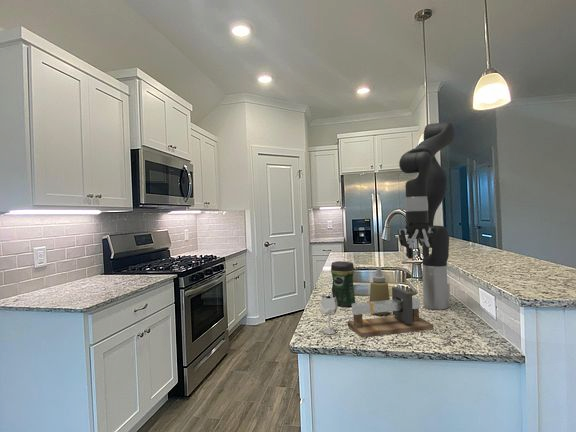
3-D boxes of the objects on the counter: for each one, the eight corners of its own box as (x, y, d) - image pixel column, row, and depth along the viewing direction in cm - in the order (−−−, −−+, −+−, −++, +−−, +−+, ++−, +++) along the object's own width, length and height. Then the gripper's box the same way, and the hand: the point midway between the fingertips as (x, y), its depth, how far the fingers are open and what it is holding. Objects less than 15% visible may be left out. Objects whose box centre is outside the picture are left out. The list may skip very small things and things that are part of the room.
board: (413, 318, 129) (413, 302, 129) (433, 329, 117) (433, 311, 117) (347, 325, 123) (347, 308, 123) (361, 337, 112) (360, 319, 112)
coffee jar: (358, 303, 150) (356, 261, 149) (349, 308, 143) (347, 263, 143) (338, 300, 156) (337, 259, 155) (329, 304, 149) (327, 262, 149)
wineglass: (334, 335, 114) (332, 299, 114) (318, 332, 117) (317, 297, 117) (340, 330, 119) (339, 295, 118) (325, 327, 122) (324, 293, 122)
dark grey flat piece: (397, 314, 126) (396, 286, 126) (412, 322, 116) (412, 293, 116) (392, 314, 126) (391, 287, 126) (407, 323, 116) (406, 293, 116)
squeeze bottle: (376, 308, 141) (375, 265, 141) (394, 312, 136) (393, 267, 135) (365, 313, 136) (364, 268, 135) (383, 318, 130) (382, 270, 129)
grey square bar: (414, 306, 124) (414, 296, 124) (420, 309, 121) (420, 299, 120) (351, 312, 119) (351, 302, 119) (355, 315, 116) (355, 305, 116)
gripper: (428, 209, 127) (429, 255, 127) (392, 210, 124) (393, 257, 124) (441, 209, 119) (442, 258, 120) (403, 210, 116) (404, 260, 117)
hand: (417, 257), depth 122 cm, fingers open, 5 cm apart
